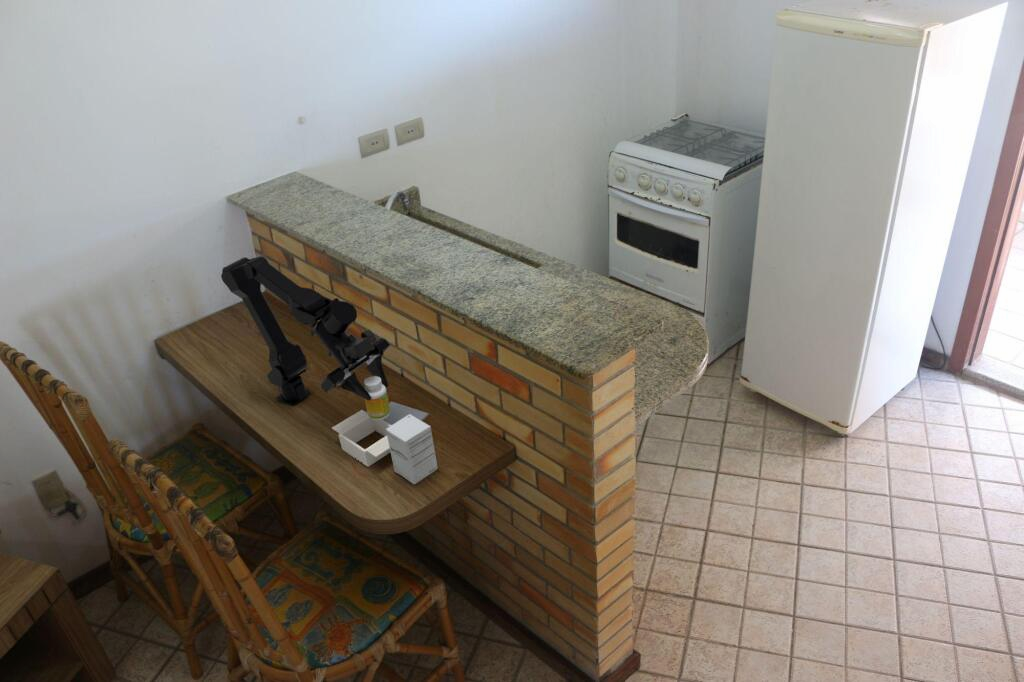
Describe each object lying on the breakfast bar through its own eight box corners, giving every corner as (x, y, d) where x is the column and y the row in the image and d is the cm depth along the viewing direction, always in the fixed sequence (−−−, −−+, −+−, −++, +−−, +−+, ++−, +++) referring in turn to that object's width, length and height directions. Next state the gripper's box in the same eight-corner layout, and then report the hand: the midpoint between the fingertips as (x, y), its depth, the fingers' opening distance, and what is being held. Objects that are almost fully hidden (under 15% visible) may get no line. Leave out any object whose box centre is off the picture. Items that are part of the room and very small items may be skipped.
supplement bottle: (389, 420, 197) (382, 386, 192) (366, 421, 198) (359, 388, 193) (392, 406, 202) (385, 373, 197) (370, 407, 202) (362, 374, 197)
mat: (371, 420, 209) (371, 418, 209) (391, 403, 215) (391, 401, 214) (409, 433, 203) (408, 431, 203) (428, 415, 209) (428, 413, 208)
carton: (333, 443, 203) (329, 429, 200) (367, 423, 208) (363, 408, 206) (377, 473, 192) (373, 458, 189) (411, 450, 198) (408, 435, 195)
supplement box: (393, 472, 192) (384, 428, 185) (418, 455, 196) (410, 412, 189) (414, 486, 187) (404, 441, 180) (439, 469, 191) (431, 425, 184)
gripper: (319, 346, 183) (363, 401, 183) (378, 307, 196) (420, 360, 196) (302, 365, 192) (345, 419, 192) (360, 327, 204) (400, 378, 204)
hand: (379, 393), depth 196 cm, fingers closed on supplement bottle, 5 cm apart
